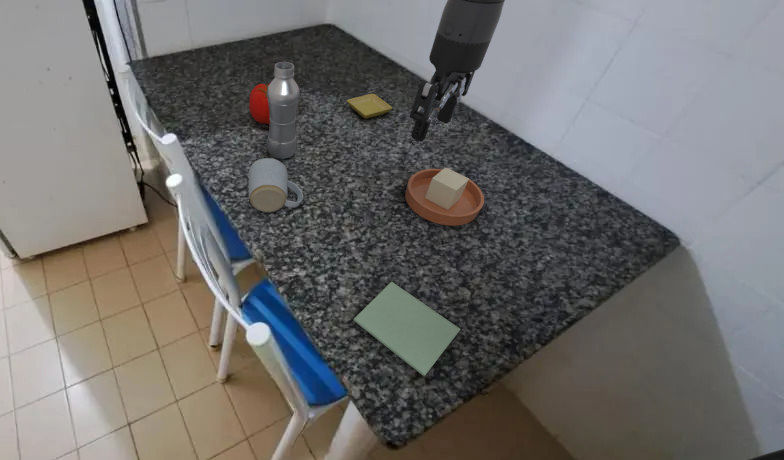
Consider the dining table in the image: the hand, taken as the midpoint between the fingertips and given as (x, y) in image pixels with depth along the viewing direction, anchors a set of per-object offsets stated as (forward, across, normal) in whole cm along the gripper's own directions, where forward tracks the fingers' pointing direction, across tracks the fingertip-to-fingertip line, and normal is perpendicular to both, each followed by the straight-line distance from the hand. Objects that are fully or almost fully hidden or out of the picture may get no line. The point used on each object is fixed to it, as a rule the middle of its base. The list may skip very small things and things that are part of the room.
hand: (430, 129), depth 68 cm
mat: (+15, -26, -16) cm, 34 cm away
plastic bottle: (+15, -9, +28) cm, 33 cm away
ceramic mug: (+15, -20, +17) cm, 31 cm away
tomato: (+15, -1, +40) cm, 42 cm away
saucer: (+15, +22, +26) cm, 37 cm away
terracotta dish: (+15, +4, -5) cm, 16 cm away
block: (+14, +4, -5) cm, 16 cm away
